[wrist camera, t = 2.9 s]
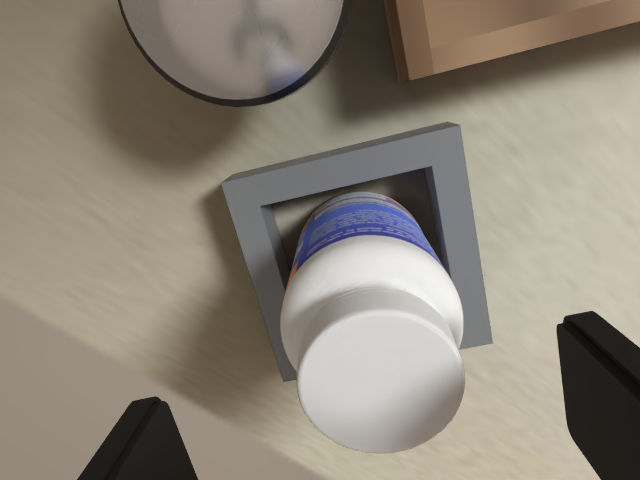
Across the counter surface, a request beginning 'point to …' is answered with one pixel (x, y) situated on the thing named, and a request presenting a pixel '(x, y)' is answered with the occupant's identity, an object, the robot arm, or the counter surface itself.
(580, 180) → the counter surface
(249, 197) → the socket collar
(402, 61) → the tray
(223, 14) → the metal mushroom knob
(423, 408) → the pill bottle
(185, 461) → the robot arm
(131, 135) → the counter surface
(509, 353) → the counter surface
